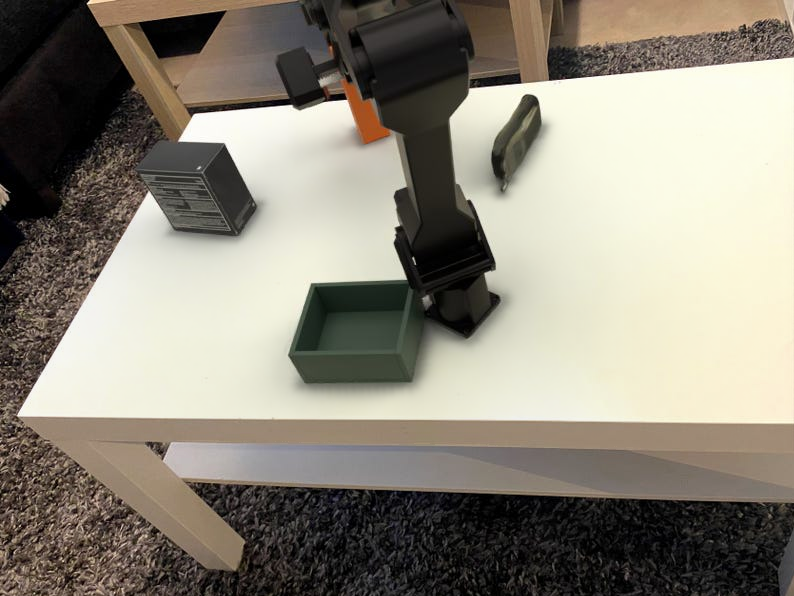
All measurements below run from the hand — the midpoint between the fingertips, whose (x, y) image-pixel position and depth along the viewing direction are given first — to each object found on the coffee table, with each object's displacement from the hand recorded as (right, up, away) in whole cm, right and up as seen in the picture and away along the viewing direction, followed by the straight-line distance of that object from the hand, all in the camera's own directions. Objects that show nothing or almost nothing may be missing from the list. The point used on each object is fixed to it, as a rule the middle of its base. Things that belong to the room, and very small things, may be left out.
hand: (359, 78), depth 95 cm
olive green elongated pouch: (+21, -10, +2) cm, 23 cm away
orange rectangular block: (0, -4, +11) cm, 11 cm away
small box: (-20, -17, +5) cm, 27 cm away
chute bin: (+3, -35, -13) cm, 38 cm away
